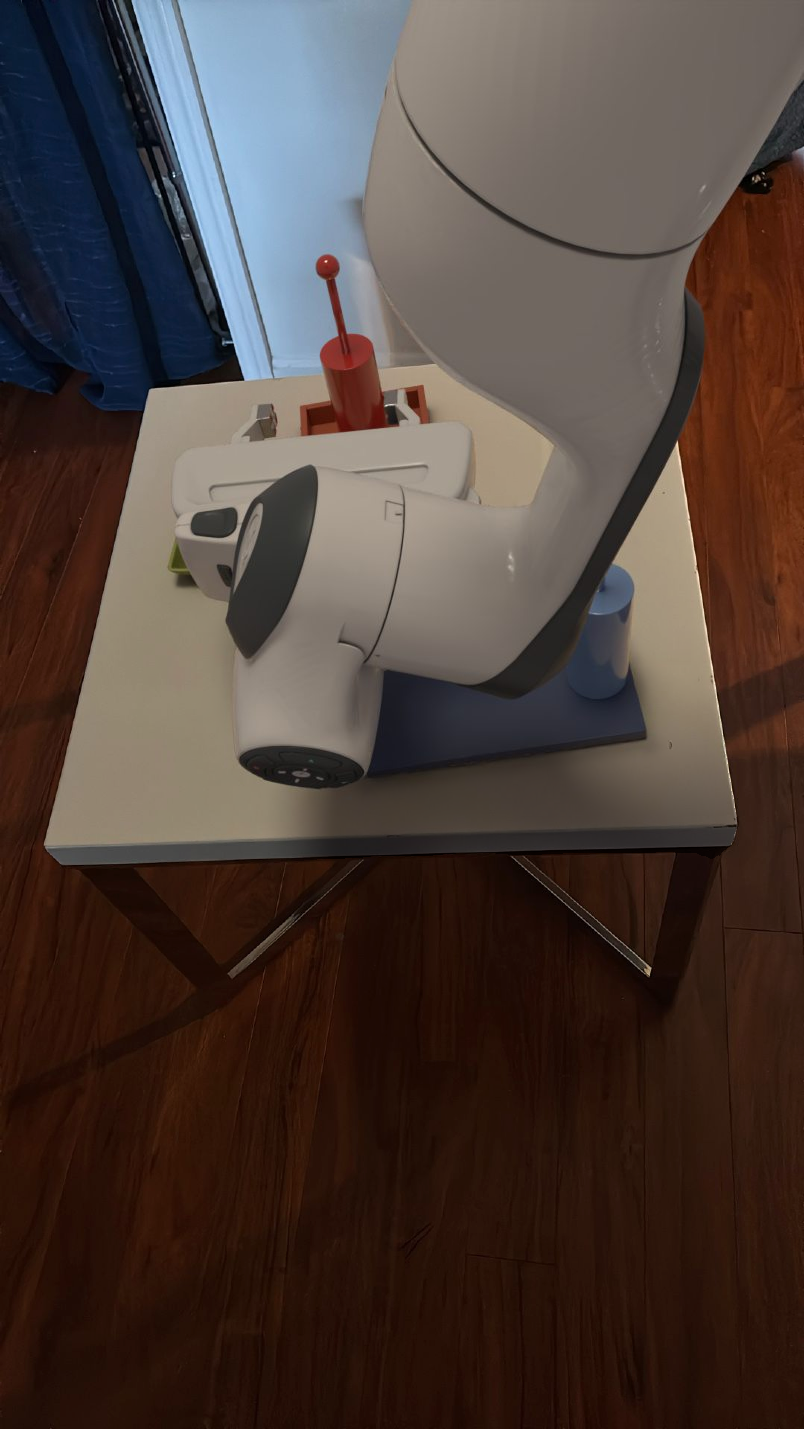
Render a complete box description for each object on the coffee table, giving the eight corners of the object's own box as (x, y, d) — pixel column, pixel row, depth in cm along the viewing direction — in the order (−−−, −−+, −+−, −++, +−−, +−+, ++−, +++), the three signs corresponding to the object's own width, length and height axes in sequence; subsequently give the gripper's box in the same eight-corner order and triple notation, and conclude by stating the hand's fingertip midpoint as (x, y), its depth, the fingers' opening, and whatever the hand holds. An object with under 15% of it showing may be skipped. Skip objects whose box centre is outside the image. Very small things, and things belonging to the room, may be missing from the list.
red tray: (427, 408, 95) (423, 384, 92) (436, 472, 90) (432, 448, 88) (306, 429, 95) (299, 405, 93) (309, 493, 91) (302, 470, 89)
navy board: (621, 641, 78) (622, 633, 77) (646, 738, 73) (646, 730, 73) (359, 681, 79) (357, 673, 79) (367, 778, 75) (365, 771, 74)
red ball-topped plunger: (389, 423, 93) (352, 233, 78) (393, 457, 91) (356, 269, 75) (341, 431, 93) (294, 244, 78) (344, 465, 91) (296, 280, 75)
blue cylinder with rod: (621, 645, 77) (633, 461, 61) (633, 694, 74) (649, 516, 59) (561, 654, 77) (558, 474, 61) (572, 704, 75) (571, 528, 59)
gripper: (478, 505, 62) (473, 350, 69) (148, 535, 64) (178, 383, 72) (486, 573, 67) (481, 423, 74) (181, 598, 70) (205, 451, 77)
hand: (330, 404), depth 73 cm, fingers open, 8 cm apart
